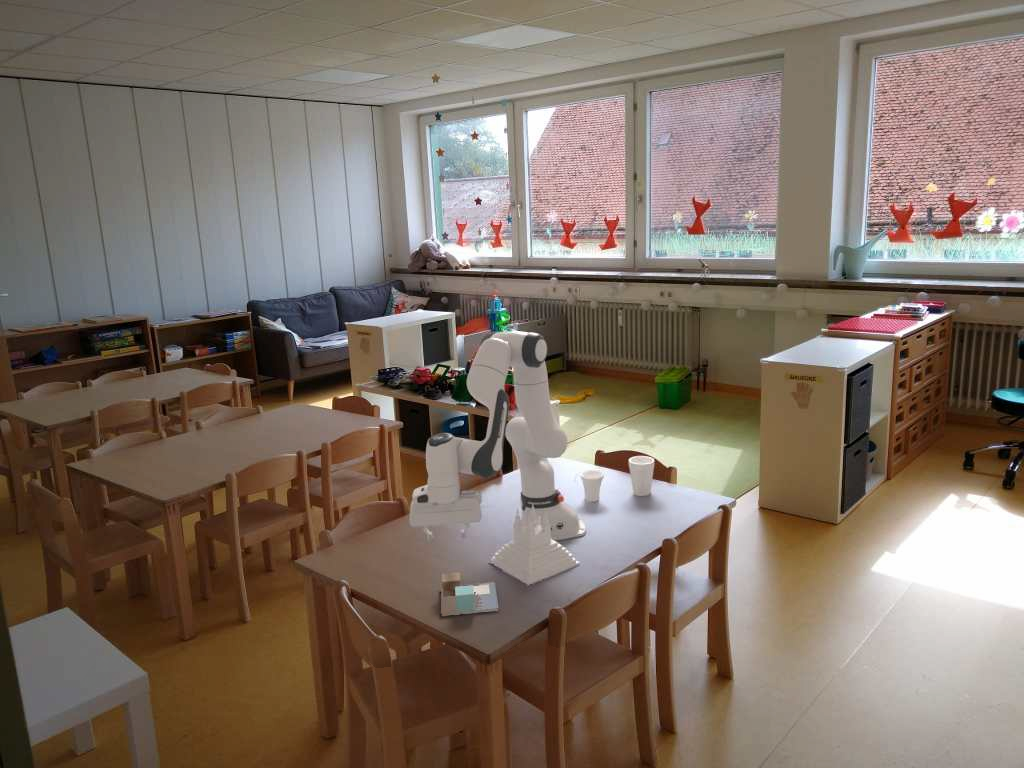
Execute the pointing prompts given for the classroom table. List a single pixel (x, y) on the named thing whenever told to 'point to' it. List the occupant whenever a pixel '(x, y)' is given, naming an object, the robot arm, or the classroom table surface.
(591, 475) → the cup
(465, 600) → the teal cube
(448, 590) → the walnut cube
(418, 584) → the classroom table surface
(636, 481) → the foam cup
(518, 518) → the castle model
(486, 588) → the building board
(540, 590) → the classroom table surface
